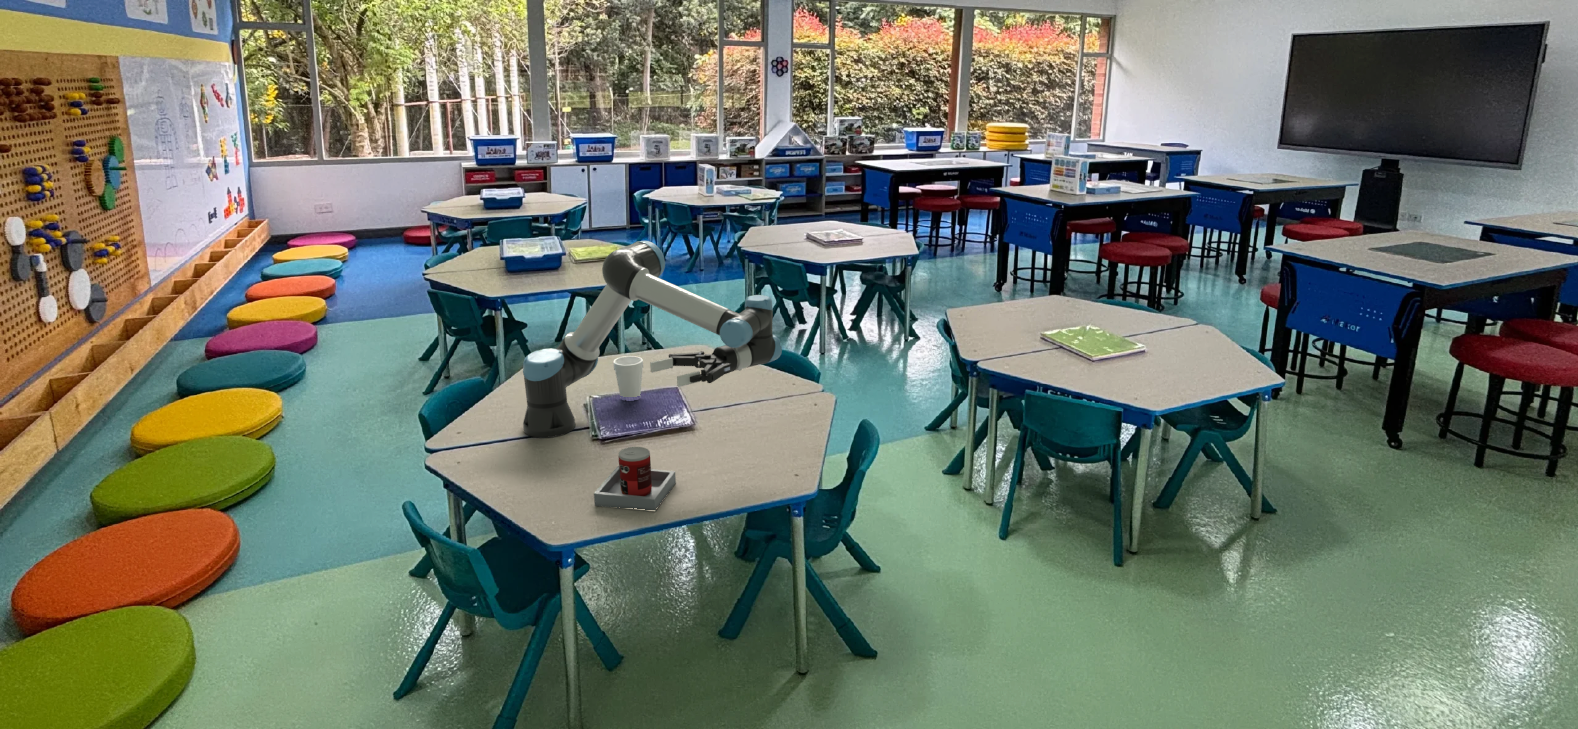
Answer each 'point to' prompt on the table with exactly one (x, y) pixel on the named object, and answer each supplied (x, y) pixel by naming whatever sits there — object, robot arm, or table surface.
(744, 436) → the table surface
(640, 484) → the canned food
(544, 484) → the table surface
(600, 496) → the tray
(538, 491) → the table surface
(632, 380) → the foam cup
